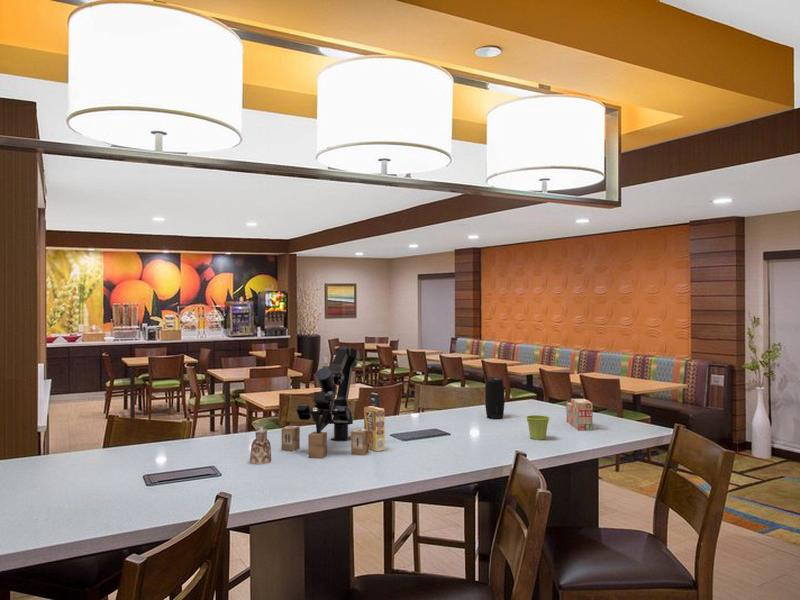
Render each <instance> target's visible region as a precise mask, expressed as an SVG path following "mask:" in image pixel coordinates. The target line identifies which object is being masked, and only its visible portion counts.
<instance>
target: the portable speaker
mask: <svg viewBox="0 0 800 600" xmlns="http://www.w3.org/2000/svg"><path fill="white" fill-rule="evenodd" d="M485 381H486V382H485V389H484V399H485V400H484V401H485V402H484V404H485V405H484V406H485V413H486V419H488V418H491V420H500V419H503V417H504V411H505V386H504V378H503V377H496V376H489V377H487V378H486V380H485ZM488 416H489V417H488Z"/></svg>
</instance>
